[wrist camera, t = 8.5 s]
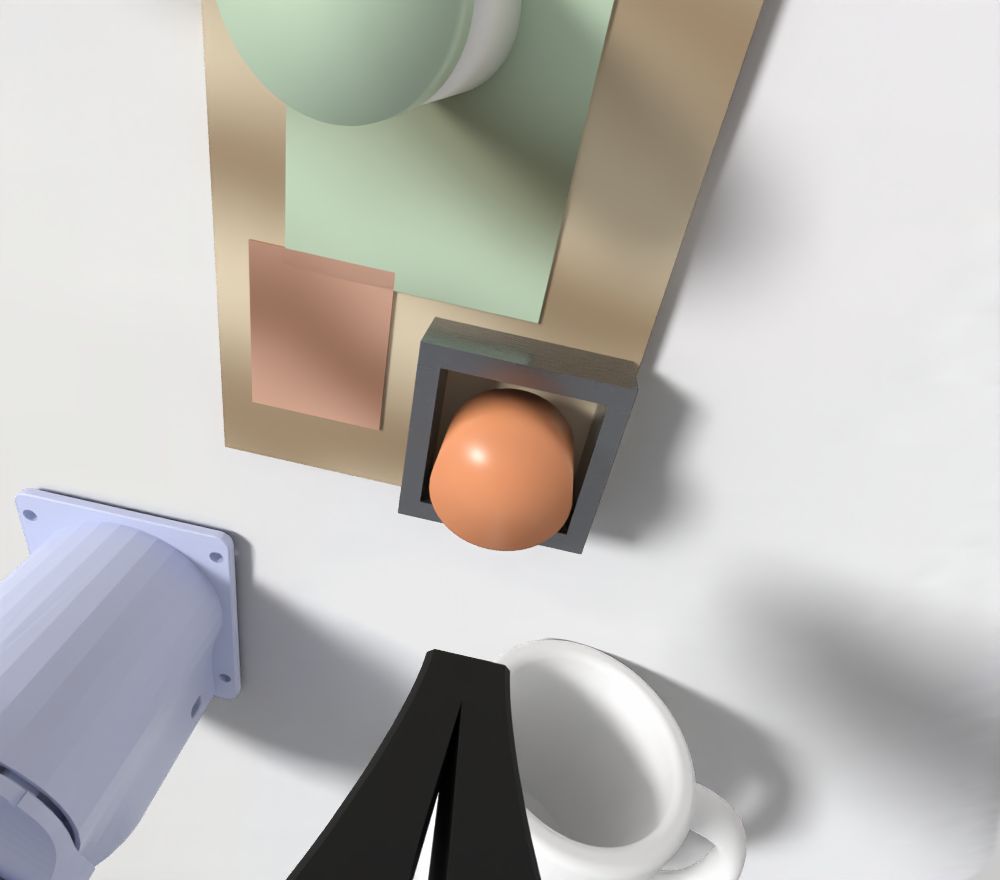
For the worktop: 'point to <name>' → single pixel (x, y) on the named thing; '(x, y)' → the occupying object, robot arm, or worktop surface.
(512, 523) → the button
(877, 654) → the worktop surface
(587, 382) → the button housing
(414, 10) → the white and green cylinder
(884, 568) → the worktop surface
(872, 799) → the worktop surface
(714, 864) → the mug
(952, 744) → the worktop surface
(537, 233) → the picture board
